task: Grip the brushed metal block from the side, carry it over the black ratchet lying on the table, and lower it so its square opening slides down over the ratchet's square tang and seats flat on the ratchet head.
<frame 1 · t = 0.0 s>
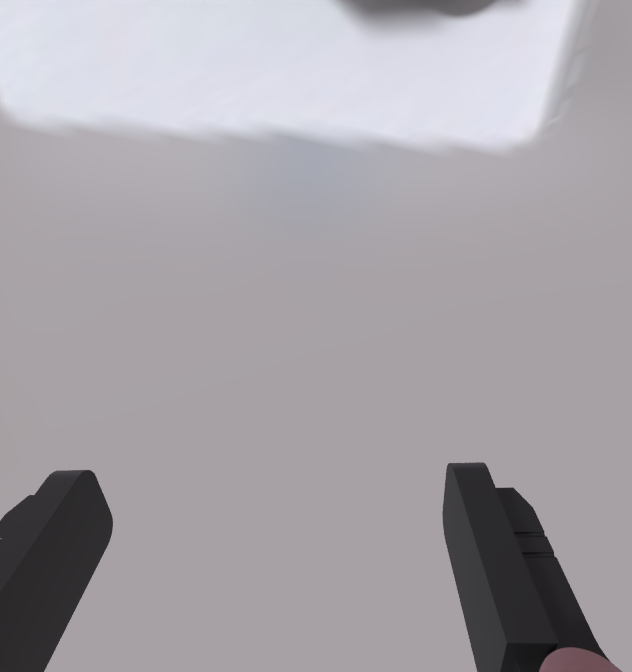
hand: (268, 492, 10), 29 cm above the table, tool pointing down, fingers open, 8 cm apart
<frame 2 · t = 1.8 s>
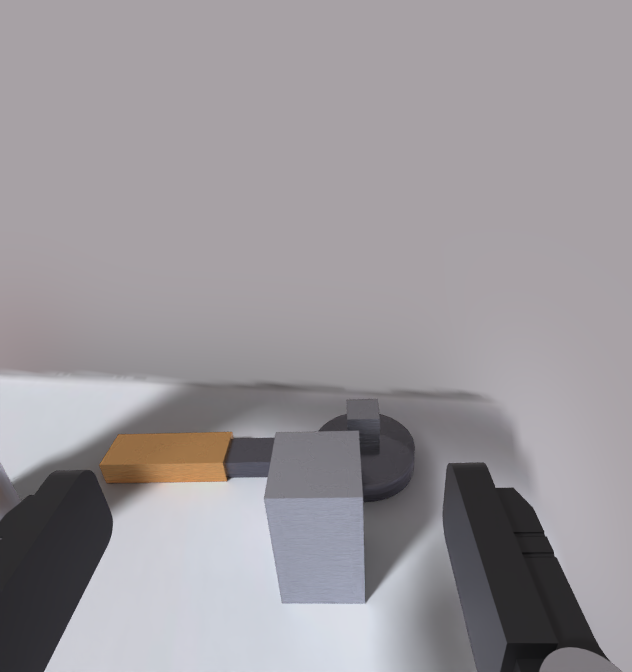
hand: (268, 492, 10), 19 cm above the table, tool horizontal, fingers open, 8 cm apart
brushed metal block: (324, 564, 29), on the table
ratchet: (363, 462, 37), on the table
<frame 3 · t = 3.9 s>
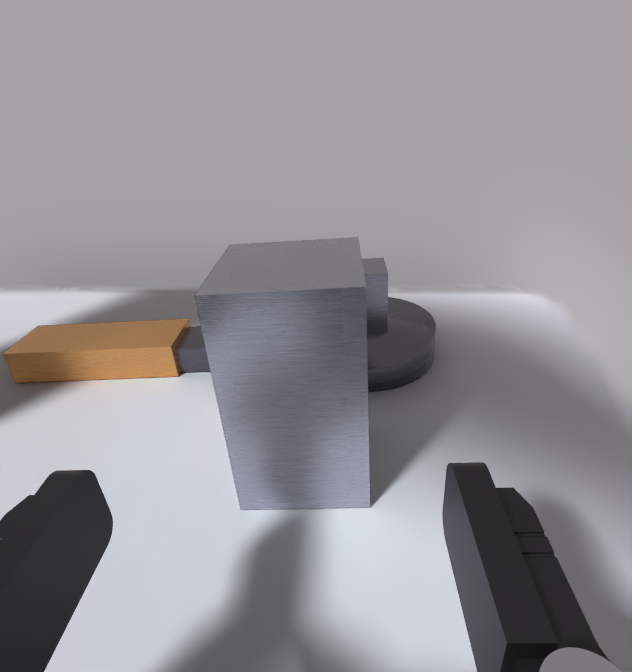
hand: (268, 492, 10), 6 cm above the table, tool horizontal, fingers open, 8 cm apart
brushed metal block: (308, 461, 19), on the table
ratchet: (365, 352, 27), on the table
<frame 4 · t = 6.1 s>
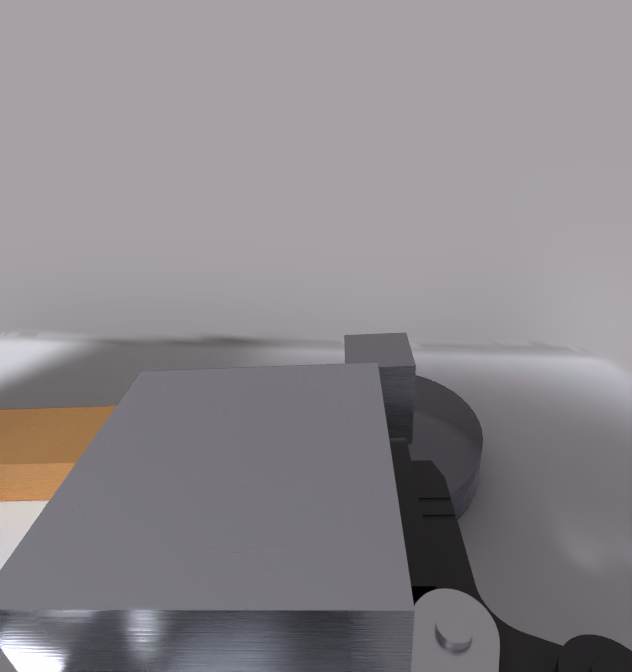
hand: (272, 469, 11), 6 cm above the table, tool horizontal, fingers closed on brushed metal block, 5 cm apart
ratchet: (378, 460, 19), on the table
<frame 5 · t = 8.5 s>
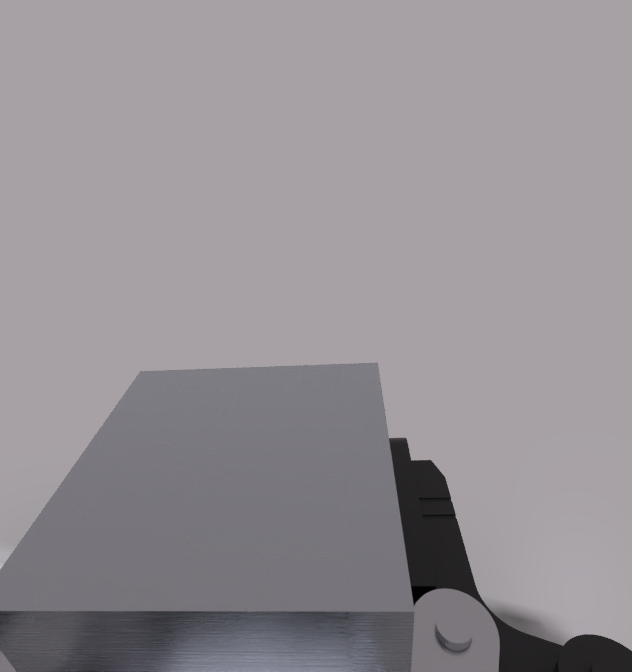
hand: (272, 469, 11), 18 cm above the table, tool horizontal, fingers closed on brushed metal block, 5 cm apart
when the fingers open (9 cm above the table, at t = 11.0 s): brushed metal block stays where it is, resting on ratchet.
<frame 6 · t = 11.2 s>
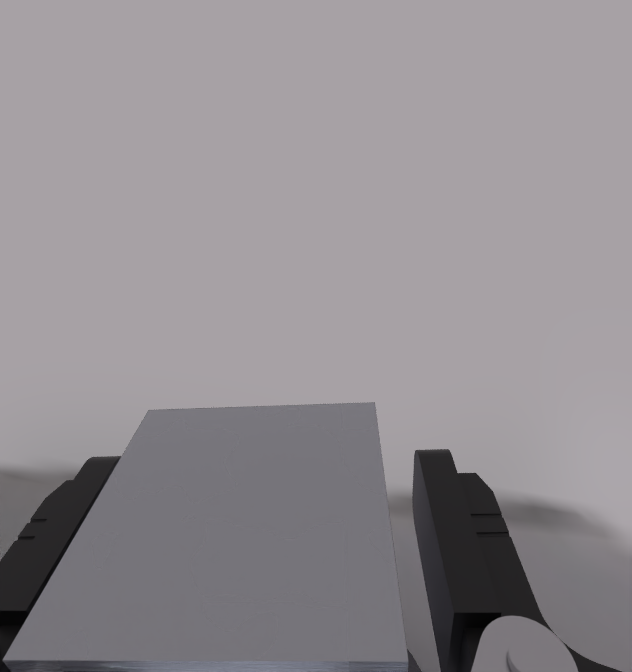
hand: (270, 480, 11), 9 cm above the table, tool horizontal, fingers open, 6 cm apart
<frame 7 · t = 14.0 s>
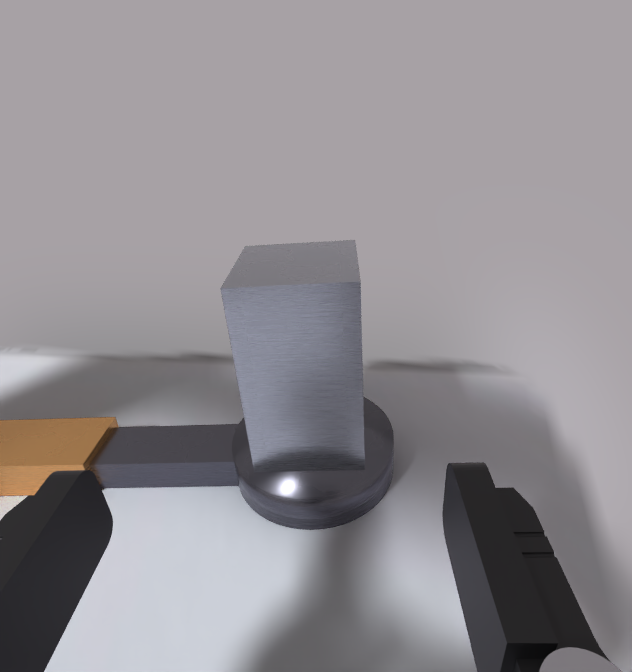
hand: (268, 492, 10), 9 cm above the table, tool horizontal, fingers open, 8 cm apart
brushed metal block: (311, 433, 22), point 2 cm above the table, touching ratchet
ratchet: (314, 463, 23), on the table
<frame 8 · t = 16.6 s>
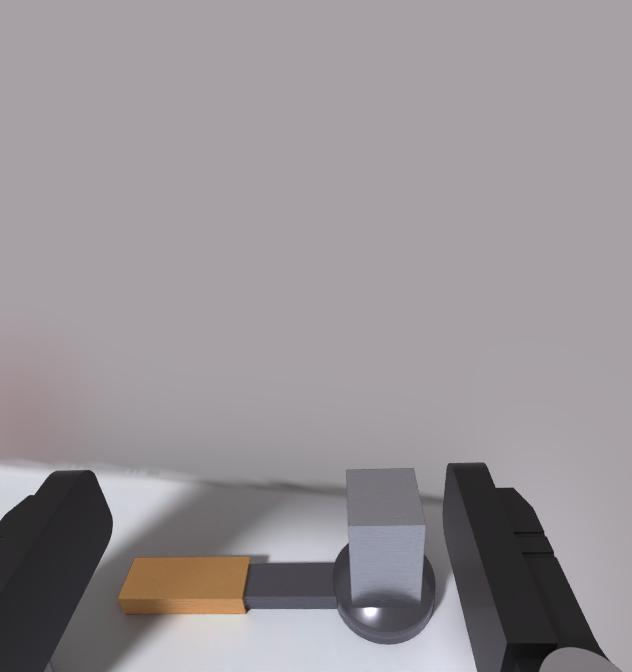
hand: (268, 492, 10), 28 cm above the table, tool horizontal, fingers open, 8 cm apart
brushed metal block: (382, 575, 36), point 2 cm above the table, touching ratchet
ratchet: (383, 591, 36), on the table
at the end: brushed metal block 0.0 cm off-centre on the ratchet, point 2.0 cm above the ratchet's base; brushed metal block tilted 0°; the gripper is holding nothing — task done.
